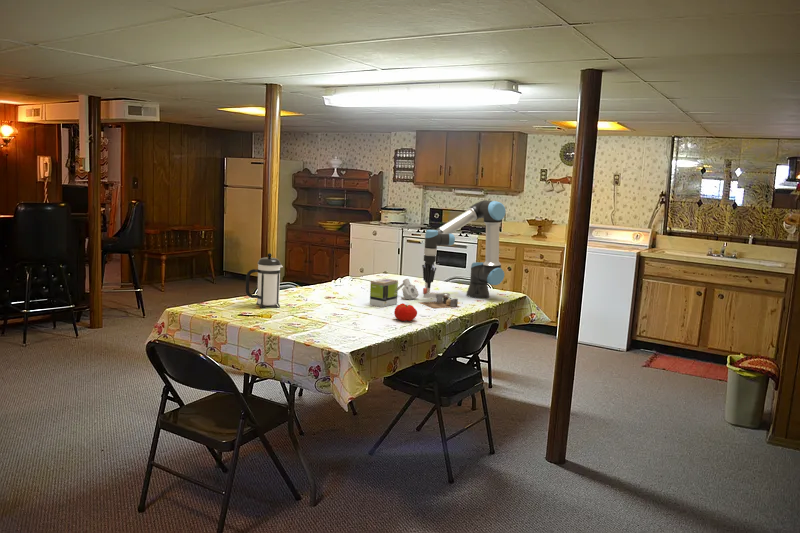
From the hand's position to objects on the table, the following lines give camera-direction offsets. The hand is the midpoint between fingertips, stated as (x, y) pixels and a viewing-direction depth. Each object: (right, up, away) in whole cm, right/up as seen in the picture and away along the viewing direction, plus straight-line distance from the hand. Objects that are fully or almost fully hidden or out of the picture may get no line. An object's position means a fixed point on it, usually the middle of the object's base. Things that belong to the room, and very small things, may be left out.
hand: (427, 292), depth 388 cm
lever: (+5, -5, -5) cm, 9 cm away
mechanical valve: (-15, -4, +14) cm, 21 cm away
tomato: (-14, -13, -49) cm, 53 cm away
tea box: (-27, -7, -11) cm, 30 cm away
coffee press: (-92, -6, -36) cm, 99 cm away
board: (+7, -8, -7) cm, 13 cm away
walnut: (+13, -7, -9) cm, 17 cm away
